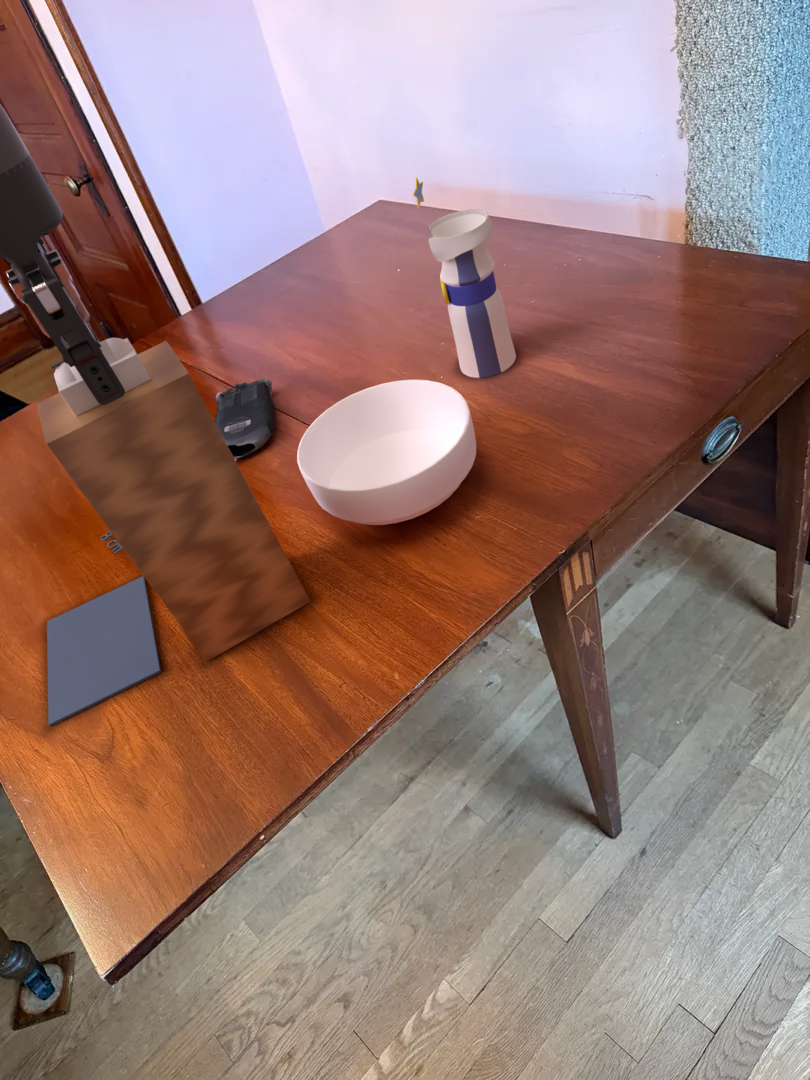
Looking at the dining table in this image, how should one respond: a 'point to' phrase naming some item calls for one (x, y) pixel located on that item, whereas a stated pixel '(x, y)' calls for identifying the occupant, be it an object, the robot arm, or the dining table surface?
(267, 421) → the electronic device
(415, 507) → the bowl
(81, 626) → the mouse pad
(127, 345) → the white boxy piece
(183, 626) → the block
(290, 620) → the dining table surface
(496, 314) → the water bottle
